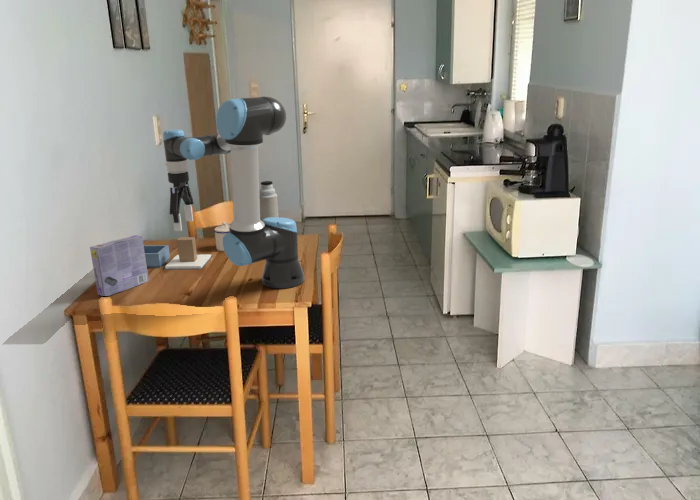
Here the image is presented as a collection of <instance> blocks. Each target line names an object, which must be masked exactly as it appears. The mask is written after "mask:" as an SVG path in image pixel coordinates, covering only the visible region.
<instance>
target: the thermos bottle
mask: <svg viewBox="0 0 700 500" xmlns="http://www.w3.org/2000/svg"><path fill="white" fill-rule="evenodd" d="M259 198H260V220H261V221H262V222H263V219H265V218H269V217H279V202H278V194H277V193H276V189H275V188H274V185H273V181H271V180H265V181H261V182H260V188H259Z"/></svg>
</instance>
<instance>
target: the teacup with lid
mask: <svg viewBox="0 0 700 500" xmlns="http://www.w3.org/2000/svg"><path fill="white" fill-rule="evenodd" d="M229 225H230V223H228V222H227V221H223V222H222V223H221V224H220V225H219V226H216V227H215V228H214V230H213V232H214V236H215V237H214V238H215V245H216V250H217V251H219V252H225V251H224V248H223V237H224V235H226V234H227V233H229Z"/></svg>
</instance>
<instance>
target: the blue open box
mask: <svg viewBox="0 0 700 500" xmlns="http://www.w3.org/2000/svg"><path fill="white" fill-rule="evenodd" d="M169 246H170V245H169V244H168V245H167V244H163V245H162V244H160V245H157V244H155V245H153V244H151V245H145V244H144V251H145V258H146V265H147V269H155V268H156V269H157V268H158V269H159V268H162V267H163V266H164V265H165V264H166V263H167V262H169V260H170V259H171V255H170V248H169Z"/></svg>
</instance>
